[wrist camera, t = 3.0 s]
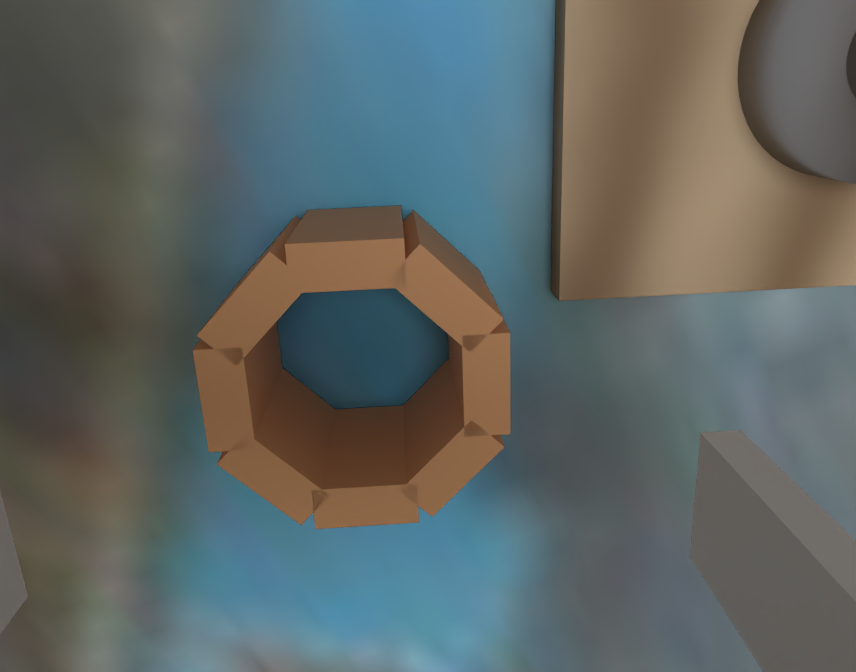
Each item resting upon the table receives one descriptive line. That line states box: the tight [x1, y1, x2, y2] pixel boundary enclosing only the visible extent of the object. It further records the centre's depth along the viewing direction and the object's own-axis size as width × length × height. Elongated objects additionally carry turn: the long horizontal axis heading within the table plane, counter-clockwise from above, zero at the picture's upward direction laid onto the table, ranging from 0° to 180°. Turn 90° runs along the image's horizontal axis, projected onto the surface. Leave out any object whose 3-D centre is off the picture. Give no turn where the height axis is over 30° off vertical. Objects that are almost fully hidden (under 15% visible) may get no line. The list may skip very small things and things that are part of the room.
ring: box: [193, 205, 510, 529], centre depth 20 cm, size 8×8×5 cm
